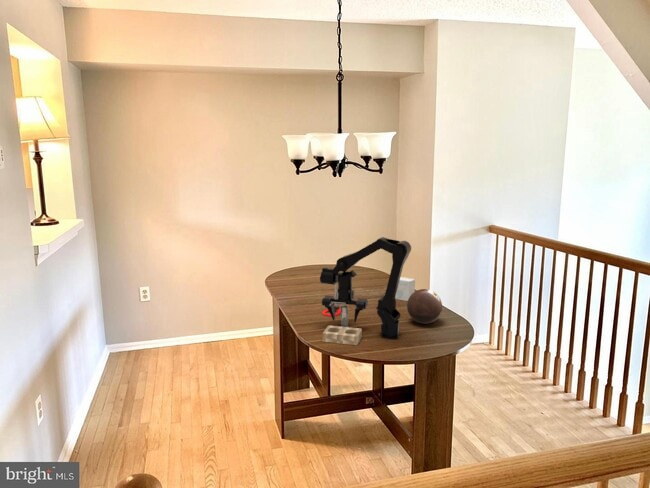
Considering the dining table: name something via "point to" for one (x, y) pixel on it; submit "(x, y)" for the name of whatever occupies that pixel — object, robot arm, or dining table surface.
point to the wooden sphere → (424, 306)
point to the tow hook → (334, 306)
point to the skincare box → (405, 288)
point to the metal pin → (344, 315)
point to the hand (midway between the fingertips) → (344, 321)
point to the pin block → (342, 335)
